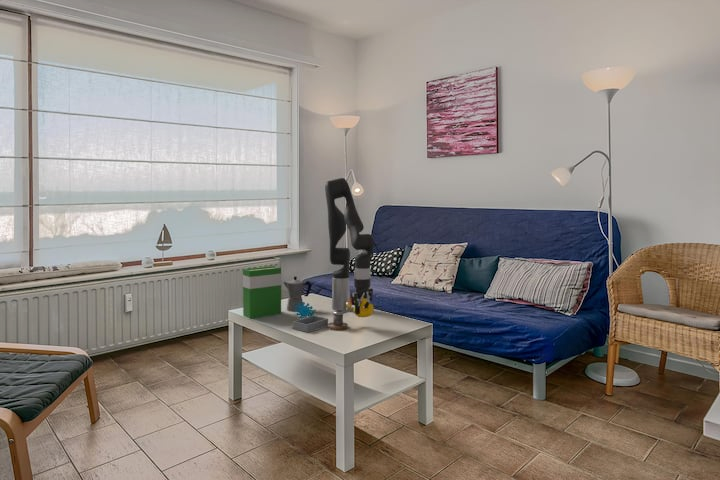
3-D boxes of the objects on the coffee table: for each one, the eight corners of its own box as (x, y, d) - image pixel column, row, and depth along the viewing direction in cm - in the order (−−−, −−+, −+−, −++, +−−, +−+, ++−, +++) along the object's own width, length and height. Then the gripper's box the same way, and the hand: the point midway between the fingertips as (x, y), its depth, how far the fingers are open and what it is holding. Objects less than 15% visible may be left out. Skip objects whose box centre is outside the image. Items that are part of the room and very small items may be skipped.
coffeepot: (281, 311, 253) (281, 277, 252) (284, 307, 263) (284, 274, 261) (310, 312, 253) (310, 278, 251) (312, 307, 262) (313, 275, 260)
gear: (296, 318, 234) (294, 300, 240) (292, 324, 238) (291, 307, 244) (317, 319, 238) (315, 302, 245) (314, 325, 243) (312, 308, 249)
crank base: (337, 323, 231) (337, 311, 230) (351, 327, 225) (351, 314, 225) (324, 327, 224) (324, 315, 223) (339, 331, 218) (339, 318, 218)
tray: (313, 322, 233) (313, 315, 232) (328, 325, 227) (328, 318, 227) (292, 328, 222) (292, 321, 221) (307, 332, 216) (307, 324, 216)
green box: (274, 310, 255) (273, 265, 253) (281, 313, 249) (281, 267, 247) (243, 315, 244) (242, 269, 241) (250, 318, 238) (249, 271, 236)
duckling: (348, 318, 222) (348, 296, 221) (350, 315, 227) (350, 294, 226) (372, 319, 221) (373, 297, 220) (373, 316, 226) (374, 295, 225)
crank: (338, 316, 221) (338, 307, 220) (331, 314, 224) (331, 305, 223) (354, 311, 230) (354, 302, 230) (347, 310, 233) (347, 301, 232)
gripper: (365, 273, 230) (364, 307, 232) (346, 278, 219) (346, 314, 221) (378, 275, 226) (377, 310, 228) (359, 280, 214) (359, 316, 216)
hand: (362, 312), depth 224 cm, fingers closed on duckling, 6 cm apart
